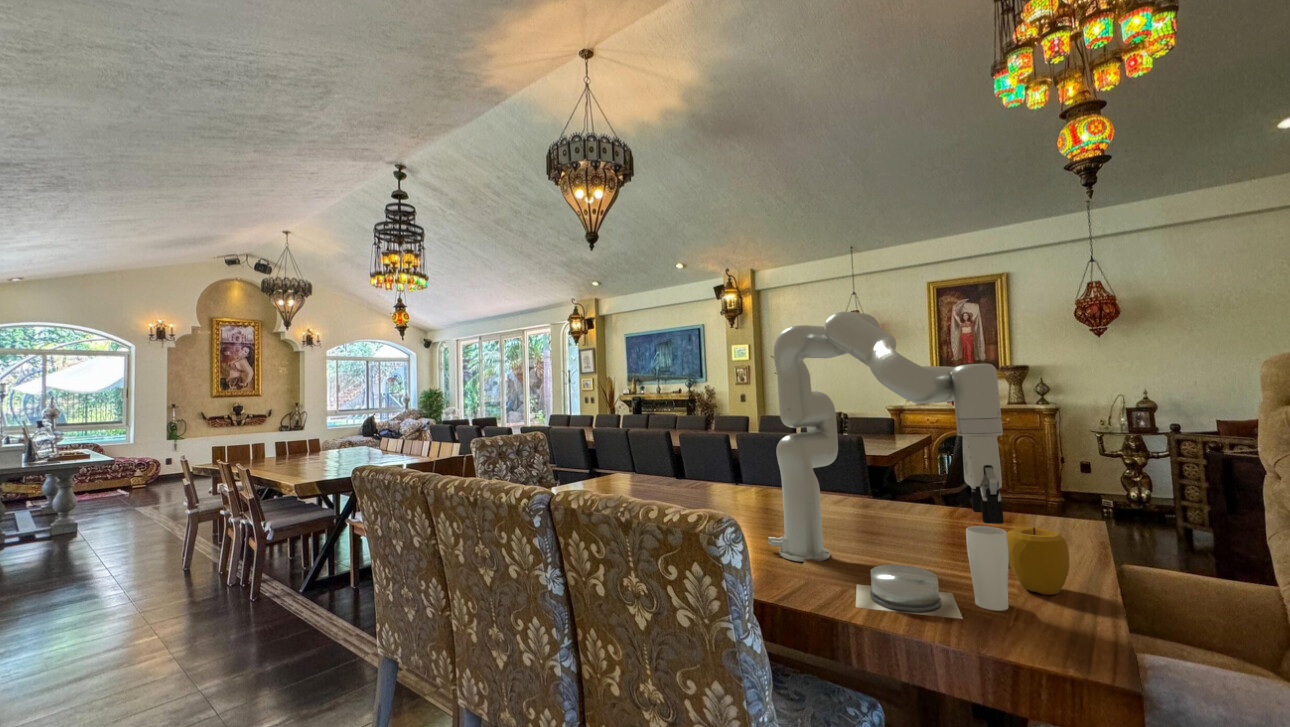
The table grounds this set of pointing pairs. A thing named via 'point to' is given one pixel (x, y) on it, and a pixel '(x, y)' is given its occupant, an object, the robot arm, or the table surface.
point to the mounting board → (946, 610)
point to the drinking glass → (989, 566)
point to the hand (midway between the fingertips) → (987, 517)
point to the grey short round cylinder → (905, 588)
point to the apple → (1038, 559)
